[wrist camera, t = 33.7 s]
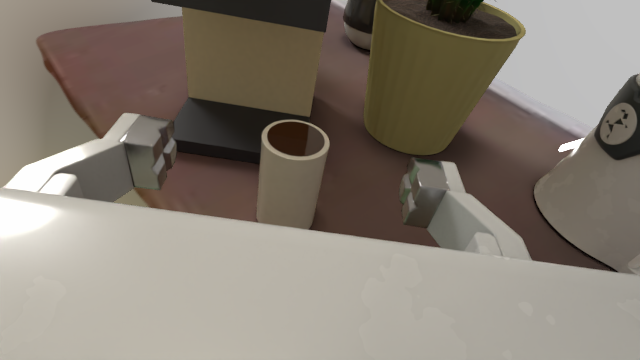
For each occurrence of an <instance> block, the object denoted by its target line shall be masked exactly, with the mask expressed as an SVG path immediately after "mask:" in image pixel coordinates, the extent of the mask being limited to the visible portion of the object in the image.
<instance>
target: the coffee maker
mask: <svg viewBox="0 0 640 360" xmlns="http://www.w3.org/2000/svg"><path fill="white" fill-rule="evenodd" d="M151 1H152V2H157V3H163V4H168V5H174V6H180V7H182V14H183V28H184V41H185V55H186V69H187V82H188V96H189V98H188V99H187V101H186V102H185V104H184V106H183V107H182V109H181V111H180V112H179V114H178V115H177V117H176V119H175V120H174V128H175V132H174V134H173V135H172V138H173V139H174V140H175V141H176V145H177V151H180V152H186V153H193V154H199V155H206V156H212V157H219V158H225V159H232V160H238V161H245V162H251V163H258V164H260V151H261V137H262V132H263V130H264V129H265V128H266V127H267V126H268V125H270V124H271V123H274V122H277V121H281V120H300V121H304V122H308V123H309V120H310V113H311V107H312V101H313V95H314V89H315V83H316V77H317V71H318V65H319V59H320V53H321V47H322V41H323V35H324V32H326V27H327V21H328V15H329V9H330V3H331V0H151Z"/></svg>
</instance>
